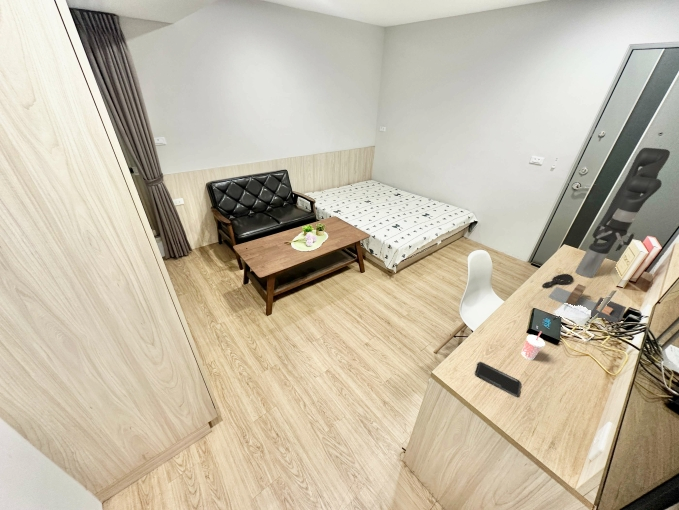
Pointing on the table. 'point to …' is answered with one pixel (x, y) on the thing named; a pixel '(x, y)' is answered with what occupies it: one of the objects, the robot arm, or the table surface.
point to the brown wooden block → (575, 294)
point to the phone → (498, 379)
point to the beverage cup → (532, 346)
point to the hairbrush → (565, 279)
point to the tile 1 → (607, 309)
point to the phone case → (579, 327)
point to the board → (563, 295)
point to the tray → (614, 315)
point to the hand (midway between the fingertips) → (605, 247)
